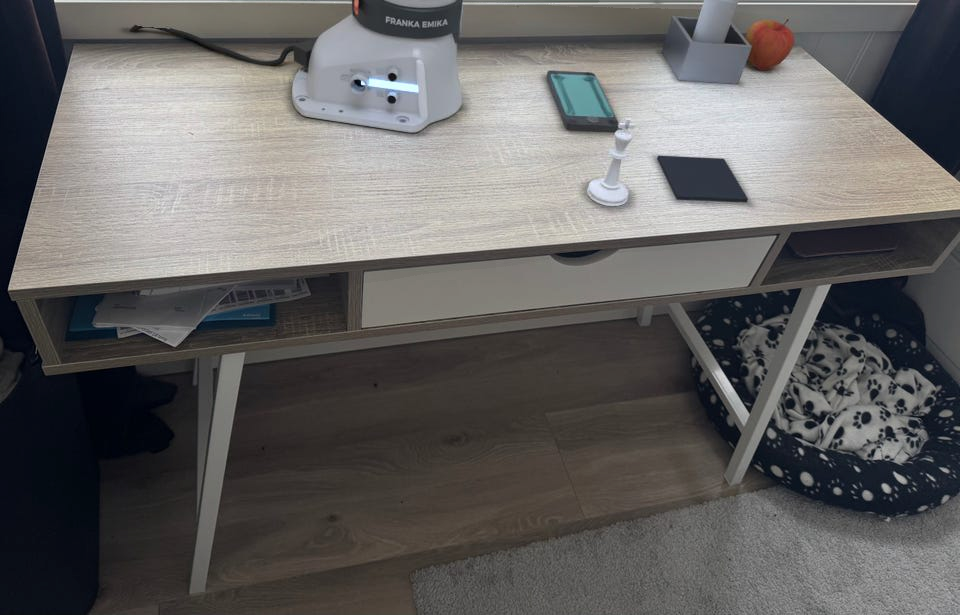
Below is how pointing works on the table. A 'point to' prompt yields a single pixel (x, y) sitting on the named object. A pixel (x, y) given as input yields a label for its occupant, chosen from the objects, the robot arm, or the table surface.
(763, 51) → the apple
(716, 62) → the holder
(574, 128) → the smartphone
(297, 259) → the table surface
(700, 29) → the beverage can
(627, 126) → the chess piece
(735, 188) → the mat
